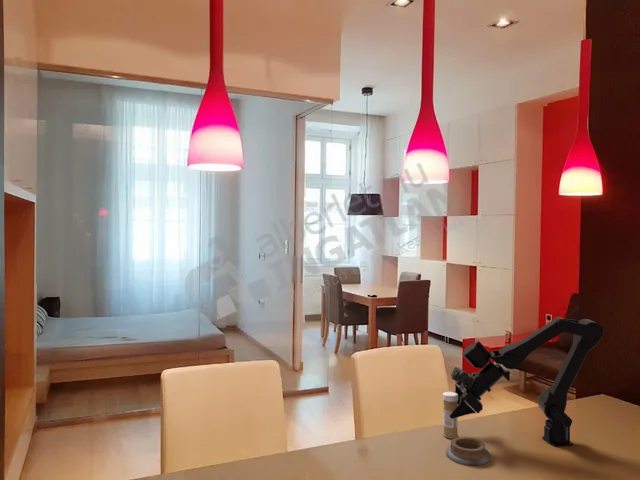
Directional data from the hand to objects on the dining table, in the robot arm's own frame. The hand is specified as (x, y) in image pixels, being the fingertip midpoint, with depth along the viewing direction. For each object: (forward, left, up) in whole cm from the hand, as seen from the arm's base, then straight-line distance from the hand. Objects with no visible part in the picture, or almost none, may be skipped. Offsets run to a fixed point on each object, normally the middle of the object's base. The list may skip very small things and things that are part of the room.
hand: (448, 412), depth 160 cm
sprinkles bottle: (0, 0, -8) cm, 8 cm away
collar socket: (+1, +15, -7) cm, 16 cm away
